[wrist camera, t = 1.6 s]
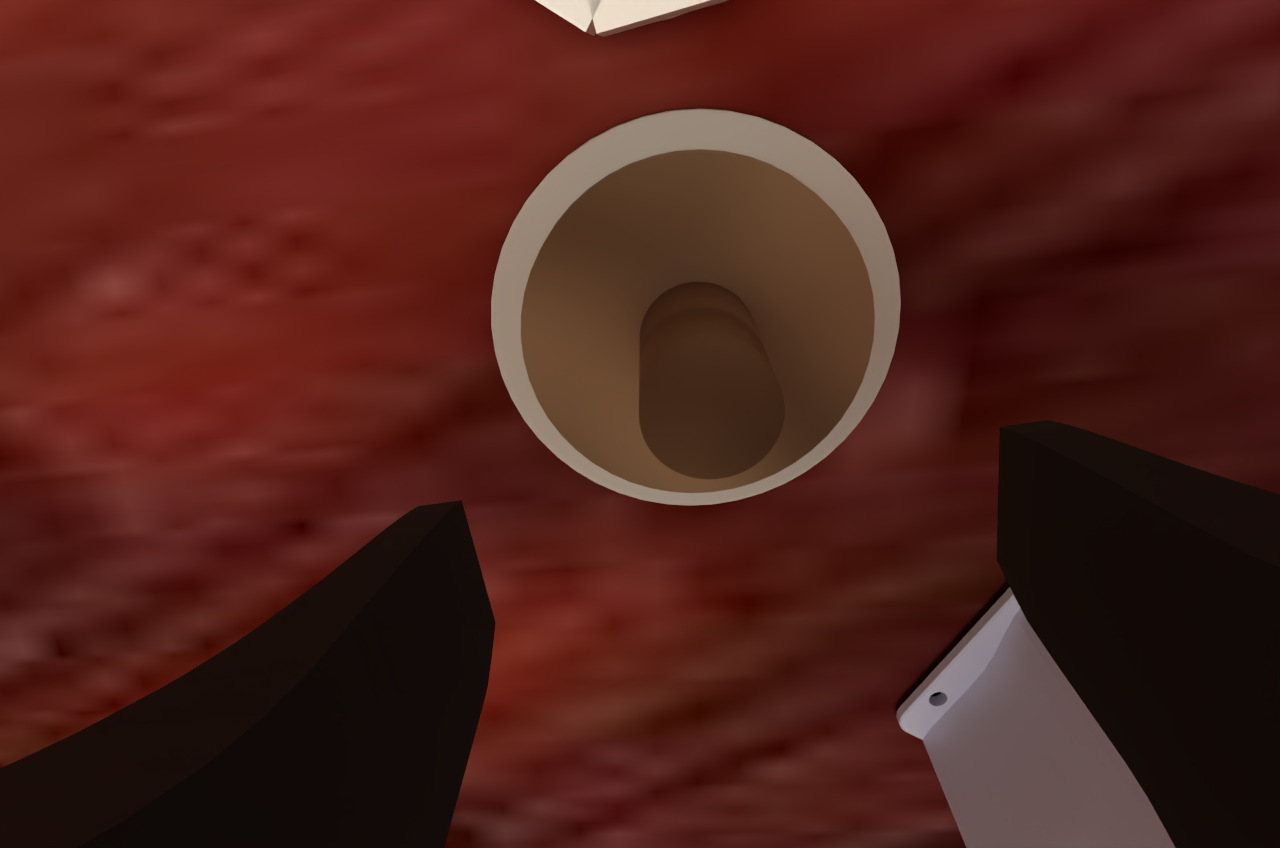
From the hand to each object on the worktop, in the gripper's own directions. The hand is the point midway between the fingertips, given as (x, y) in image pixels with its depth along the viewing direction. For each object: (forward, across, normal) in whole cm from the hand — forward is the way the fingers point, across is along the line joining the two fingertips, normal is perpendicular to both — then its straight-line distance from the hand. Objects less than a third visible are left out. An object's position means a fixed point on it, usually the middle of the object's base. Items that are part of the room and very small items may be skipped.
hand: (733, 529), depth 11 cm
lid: (+9, 0, 0) cm, 9 cm away
